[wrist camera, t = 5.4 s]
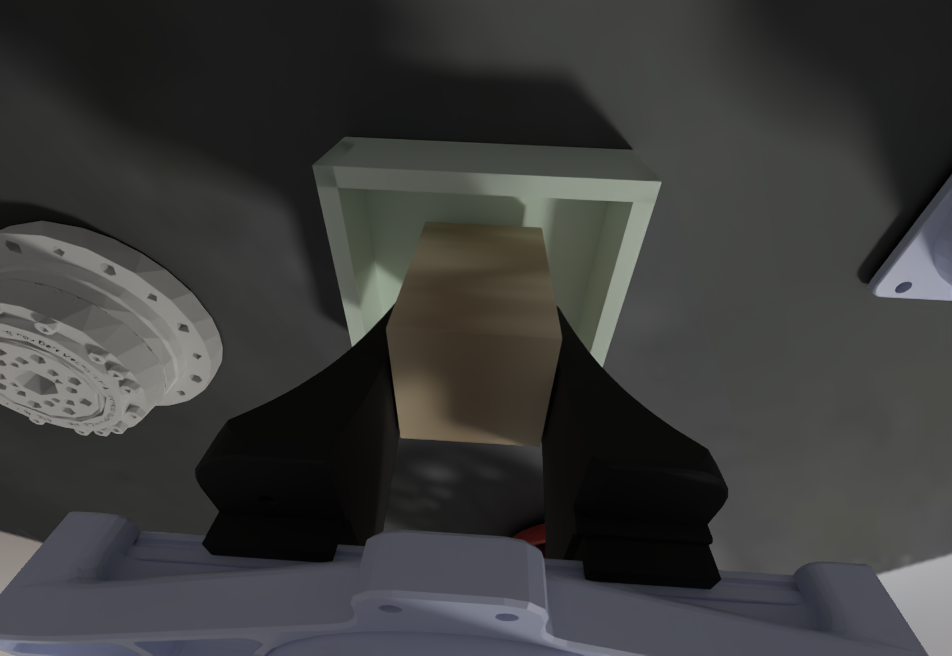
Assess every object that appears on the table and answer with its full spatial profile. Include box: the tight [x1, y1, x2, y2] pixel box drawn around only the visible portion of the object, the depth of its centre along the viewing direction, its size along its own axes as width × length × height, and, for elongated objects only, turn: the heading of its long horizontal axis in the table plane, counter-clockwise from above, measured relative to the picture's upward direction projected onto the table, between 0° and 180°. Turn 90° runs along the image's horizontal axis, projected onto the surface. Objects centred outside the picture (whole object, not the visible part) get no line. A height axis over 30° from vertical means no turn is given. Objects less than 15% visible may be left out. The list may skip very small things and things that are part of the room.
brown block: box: [386, 222, 562, 447], centre depth 13 cm, size 4×4×6 cm
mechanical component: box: [0, 221, 223, 436], centre depth 18 cm, size 10×4×10 cm
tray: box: [312, 137, 662, 367], centre depth 15 cm, size 10×10×3 cm
